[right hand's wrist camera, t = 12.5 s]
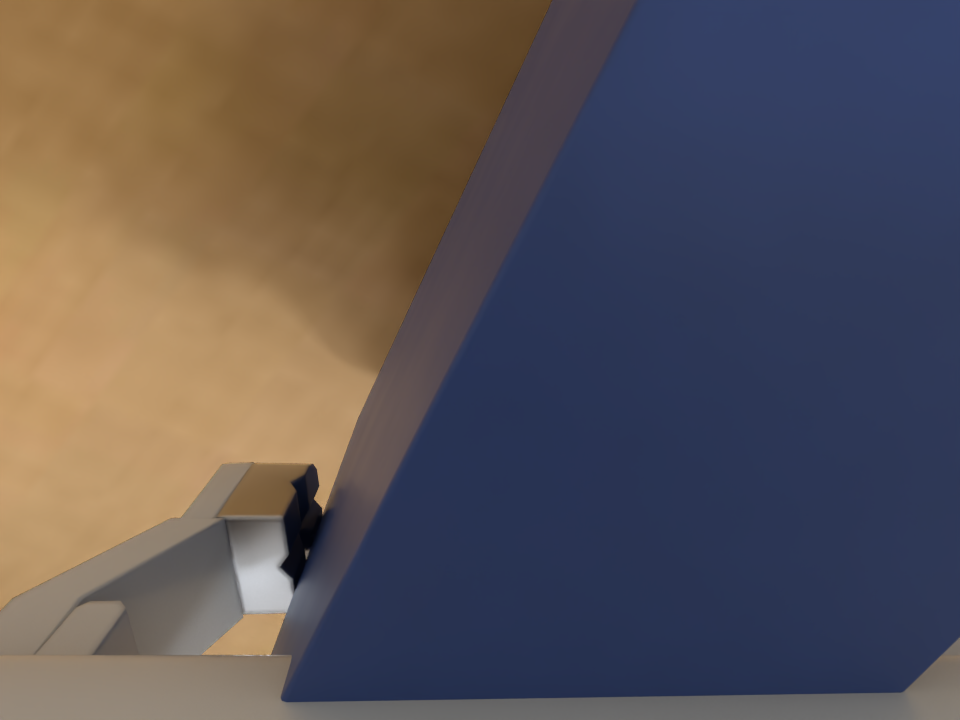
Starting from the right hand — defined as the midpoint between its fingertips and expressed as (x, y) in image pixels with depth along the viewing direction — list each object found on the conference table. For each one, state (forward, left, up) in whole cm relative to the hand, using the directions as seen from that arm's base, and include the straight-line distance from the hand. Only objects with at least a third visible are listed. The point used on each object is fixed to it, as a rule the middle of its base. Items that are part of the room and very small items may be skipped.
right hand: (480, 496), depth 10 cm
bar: (+5, +10, -4) cm, 12 cm away
